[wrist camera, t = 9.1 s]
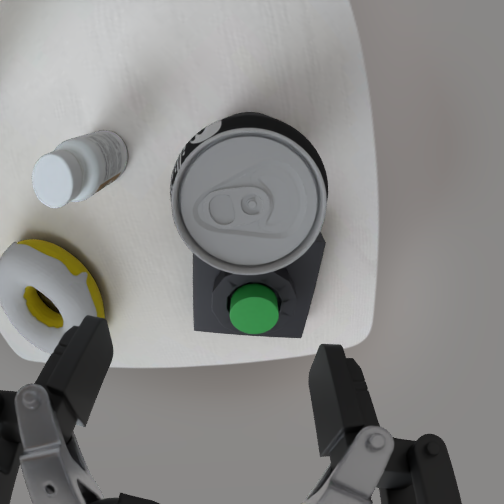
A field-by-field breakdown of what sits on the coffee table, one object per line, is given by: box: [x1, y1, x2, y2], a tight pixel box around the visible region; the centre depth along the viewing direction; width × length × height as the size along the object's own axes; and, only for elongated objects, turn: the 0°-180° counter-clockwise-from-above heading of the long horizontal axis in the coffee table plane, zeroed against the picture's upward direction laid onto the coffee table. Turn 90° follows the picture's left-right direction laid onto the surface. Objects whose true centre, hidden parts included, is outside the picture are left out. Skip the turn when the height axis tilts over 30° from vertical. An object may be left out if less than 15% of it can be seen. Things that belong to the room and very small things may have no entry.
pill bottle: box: [32, 130, 127, 208], centre depth 17 cm, size 4×4×8 cm
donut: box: [0, 239, 105, 354], centre depth 25 cm, size 14×14×5 cm
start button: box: [230, 283, 279, 334], centre depth 22 cm, size 4×4×2 cm
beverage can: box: [170, 112, 328, 275], centre depth 16 cm, size 7×7×12 cm
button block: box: [193, 232, 326, 338], centre depth 24 cm, size 10×10×4 cm
